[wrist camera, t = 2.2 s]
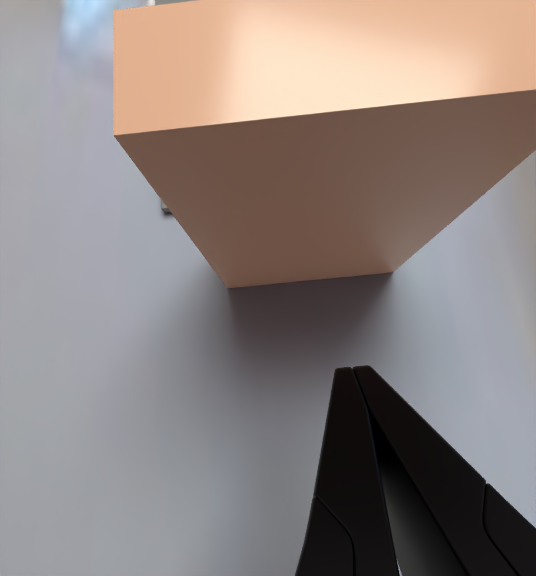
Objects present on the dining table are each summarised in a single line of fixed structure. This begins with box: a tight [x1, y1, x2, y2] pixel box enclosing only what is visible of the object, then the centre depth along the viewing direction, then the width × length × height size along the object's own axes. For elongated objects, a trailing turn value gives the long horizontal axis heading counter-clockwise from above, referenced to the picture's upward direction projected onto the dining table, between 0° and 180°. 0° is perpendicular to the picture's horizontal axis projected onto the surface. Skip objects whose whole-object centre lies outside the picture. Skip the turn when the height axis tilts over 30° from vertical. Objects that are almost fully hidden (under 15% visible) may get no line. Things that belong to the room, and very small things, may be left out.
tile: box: [114, 0, 536, 288], centre depth 12 cm, size 3×8×12 cm, turn 95°
